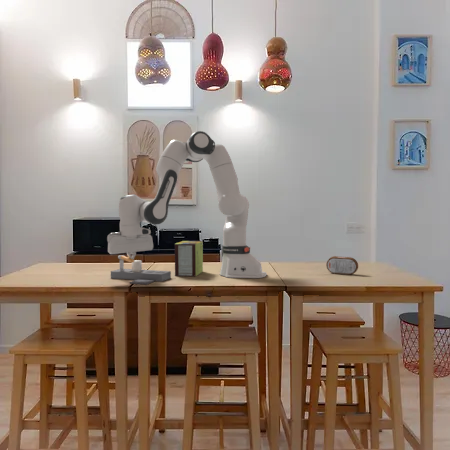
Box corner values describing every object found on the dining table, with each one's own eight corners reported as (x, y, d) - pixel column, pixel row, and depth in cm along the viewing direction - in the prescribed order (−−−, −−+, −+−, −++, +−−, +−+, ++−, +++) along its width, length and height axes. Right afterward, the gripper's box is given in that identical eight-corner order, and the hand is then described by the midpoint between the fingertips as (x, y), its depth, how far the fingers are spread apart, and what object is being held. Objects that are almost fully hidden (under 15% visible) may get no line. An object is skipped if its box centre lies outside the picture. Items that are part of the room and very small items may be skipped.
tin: (358, 274, 210) (358, 257, 210) (357, 275, 207) (357, 258, 207) (327, 272, 216) (327, 255, 216) (325, 273, 213) (325, 256, 213)
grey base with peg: (170, 278, 200) (170, 259, 199) (161, 281, 191) (161, 262, 191) (121, 275, 208) (121, 257, 207) (110, 278, 199) (110, 259, 199)
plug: (143, 277, 201) (143, 260, 201) (138, 279, 197) (138, 261, 197) (135, 277, 203) (134, 260, 202) (130, 278, 199) (130, 261, 198)
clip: (135, 262, 189) (135, 259, 189) (128, 262, 187) (128, 259, 187) (123, 257, 204) (123, 255, 204) (117, 258, 203) (117, 255, 203)
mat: (155, 281, 191) (155, 280, 191) (146, 284, 184) (146, 283, 184) (139, 280, 194) (139, 278, 194) (129, 283, 186) (129, 282, 186)
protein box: (203, 271, 219) (202, 241, 218) (195, 276, 204) (195, 243, 203) (182, 271, 221) (182, 240, 220) (174, 276, 206) (174, 243, 205)
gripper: (109, 233, 185) (111, 265, 186) (153, 229, 196) (155, 260, 197) (104, 232, 190) (106, 263, 191) (148, 229, 201) (149, 258, 202)
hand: (131, 262), depth 194 cm, fingers closed, pressing on clip
